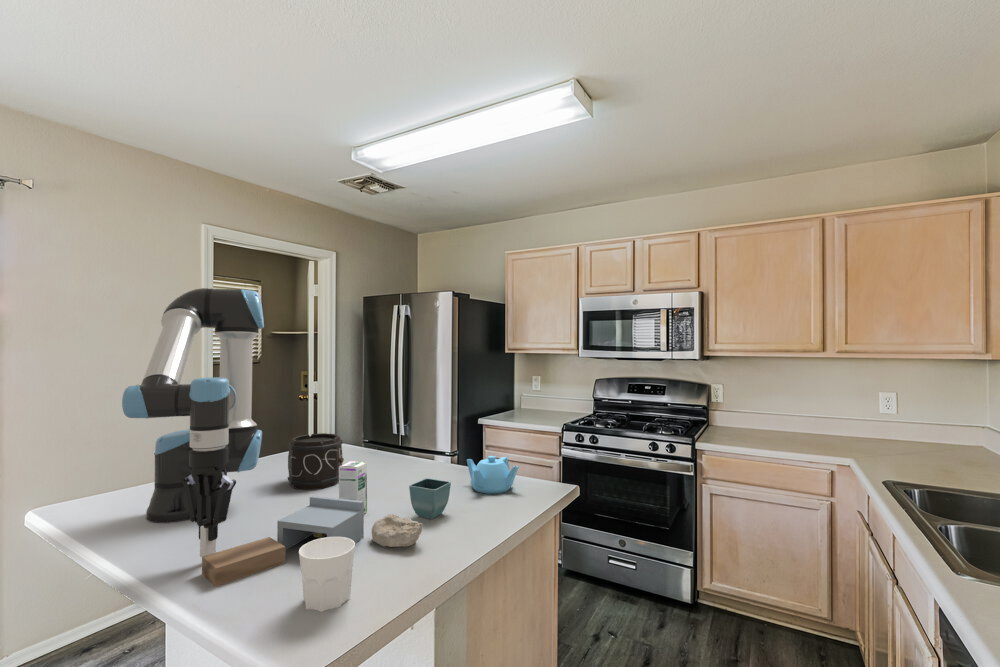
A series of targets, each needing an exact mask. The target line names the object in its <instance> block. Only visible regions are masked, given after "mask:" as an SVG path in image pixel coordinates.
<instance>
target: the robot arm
mask: <svg viewBox="0 0 1000 667" xmlns="http://www.w3.org/2000/svg"><path fill="white" fill-rule="evenodd" d="M263 313H264V310H263V306H262V301H261V296H260V294H259V293H258V291H256V290H250V289H242V288H241V289H240V288H239V289H235V288H233V289H232V288H208V287H206V288H205V287H204V288H202V287H201V288H195V289H193V290H189V291H187V292H185V293H183V294H181V295H179V296H178V297H176V298H175V299H174V300H172V301H171V303H169V304H168V306H167V307H166V308H165V310H164V312H163V314H162V316H161V319H160V323H161V327H162V328H161V331H160V334H159V337H158V339H157V342H156V344H155V347H154V350H153V352H152V354H151V357H150V360H149V363H148V365H147V367H146V371H145V373H144V375H143V378H142V381H141V384H136V385H129V386H128V387H126V388H124V391H123V394H122V398H121V401H122V402H121V406H122V411H123V414H124V415H125V417H127V418H129V419H147V420H148V419H154V418H156V419H157V418H170V417H171V418H172V417H189V428H188V429H187V428H186V429H183V430H177V431H173V432H169V433H165V434H163V435H161V436H159V437H158V438H156V442H155V447H154V449H155V450H154V453H153V455H154V489H153V493H152V495H151V499H150V502H149V505H148V507H147V509H146V514H145V515H146V521H148V522H151V523H155V524H156V523H159V524H163V523H164V524H165V523H174V522H176V523H177V522H181V521H186V520H190V522H192V523H196V525H197V526H198V540H199V541H200V542H199V557H201V558H202V557H203V556H206V555H210V554H213V553H216V551H217V539H218V537H219V533H218V532H219V529H218V528H219V524H222V523H223V522H226V521H227V516H228V514H229V513H228V512H229V508H230V502H231V498H232V492H233V489H234V488H235V486H236V484H237V480H236V479H235V478H234V479H230V478H229V477H228V476H227V475H228V473H241V472H247V471H251V470H253V469H255V468H256V466H257V465H258V462H259V457H260V452H261V446H262V439H263V431H262V430H261V429H258V424H257V423H256V422H255V421H254V420H253V419H252V412H253V411H252V404H253V403H252V401H253V400H252V399H253V398H252V397H253V350H254V349H253V344H254V342H253V341H254V339H255V338H257V336H259V330H262V329H264V328H265V324H264V323H265V322H264V314H263ZM202 328H208V329H209V328H210V329H214V335H216V337H218V338H219V340H220V341H219V342H220V344H219V345H220V346H219V347H220V348H219V349H220V350H219V376H218V377H217V376H216V377H200V378H194V379H193V380H191V382H190V384H189V383H188V384H187V383H186V384H185V383H184V384H182V383H181V380H182V377H183V374H184V371H185V367H186V363H187V361H188V356H189V354H190V351H191V347H192V344H193V341H194V338H195V335H197V334H198V333H199V331H201V329H202Z"/></svg>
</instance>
